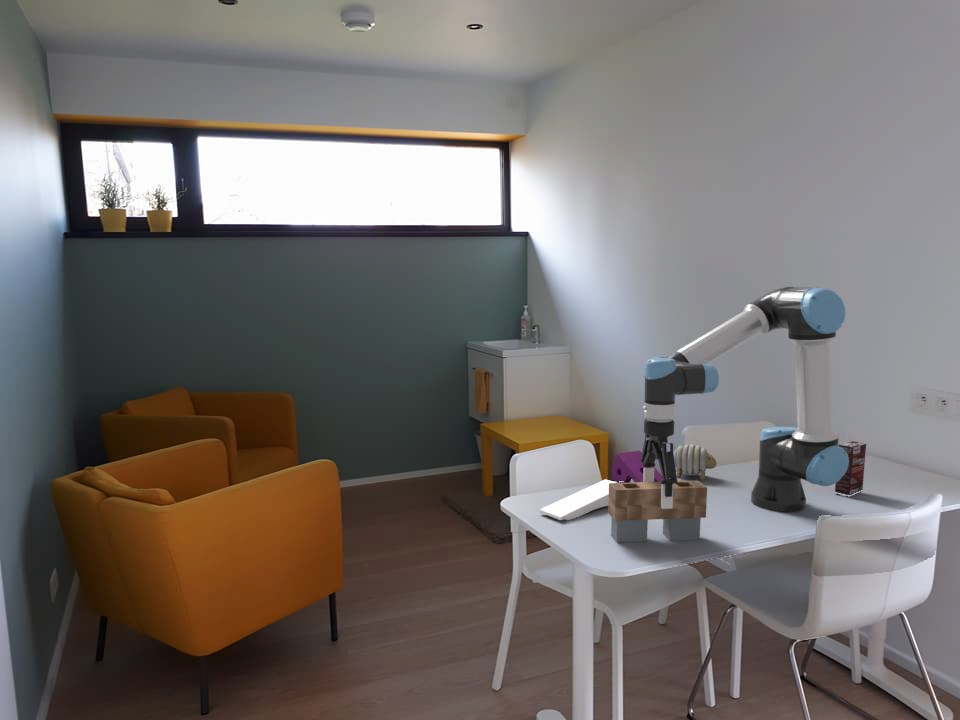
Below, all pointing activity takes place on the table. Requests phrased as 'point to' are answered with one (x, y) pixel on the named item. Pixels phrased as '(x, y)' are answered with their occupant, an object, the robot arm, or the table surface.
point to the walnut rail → (656, 501)
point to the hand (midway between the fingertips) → (657, 499)
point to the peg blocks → (671, 529)
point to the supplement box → (852, 469)
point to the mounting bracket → (631, 468)
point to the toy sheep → (693, 460)
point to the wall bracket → (580, 502)
